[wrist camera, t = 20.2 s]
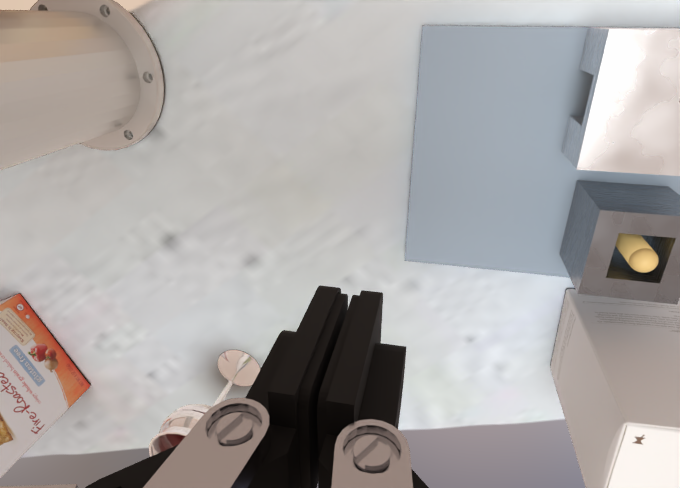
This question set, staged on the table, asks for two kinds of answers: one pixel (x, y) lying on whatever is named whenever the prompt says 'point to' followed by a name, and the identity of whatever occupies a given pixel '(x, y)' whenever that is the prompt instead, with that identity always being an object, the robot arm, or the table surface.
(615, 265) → the block
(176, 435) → the wineglass
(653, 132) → the housing cover
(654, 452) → the supplement box
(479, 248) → the assembly board
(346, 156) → the table surface
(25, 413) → the cracker box
